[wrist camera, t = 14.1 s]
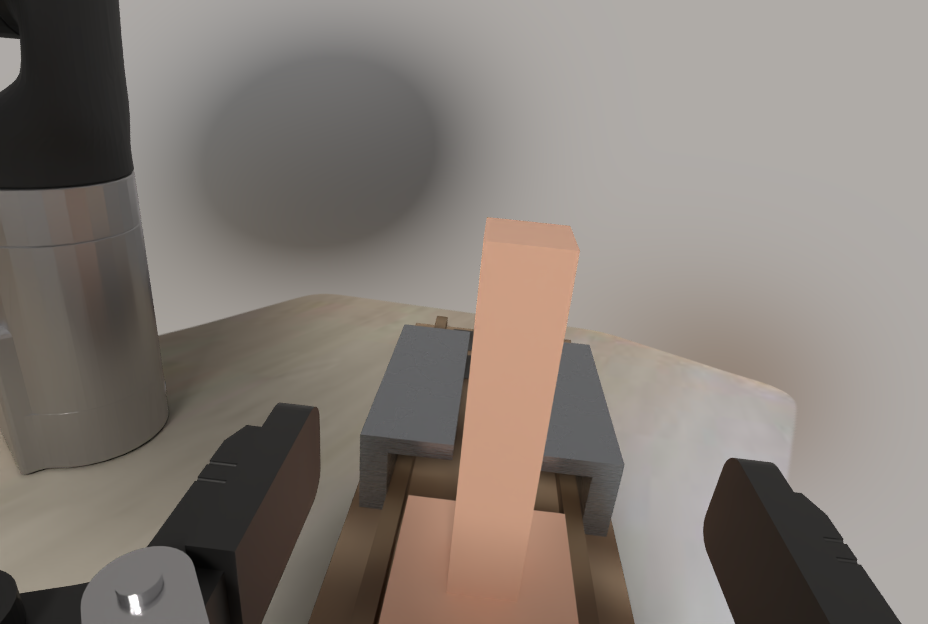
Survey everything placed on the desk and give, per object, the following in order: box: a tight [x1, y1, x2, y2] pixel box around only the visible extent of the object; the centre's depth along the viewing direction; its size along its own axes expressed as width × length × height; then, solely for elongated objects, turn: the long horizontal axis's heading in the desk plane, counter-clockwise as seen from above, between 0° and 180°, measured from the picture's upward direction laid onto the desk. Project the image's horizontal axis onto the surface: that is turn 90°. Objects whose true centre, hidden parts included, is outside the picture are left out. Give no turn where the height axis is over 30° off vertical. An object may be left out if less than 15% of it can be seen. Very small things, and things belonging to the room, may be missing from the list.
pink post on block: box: [379, 217, 580, 624], centre depth 23 cm, size 8×8×18 cm
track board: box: [308, 316, 635, 624], centre depth 38 cm, size 36×15×2 cm, turn 176°
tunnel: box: [359, 325, 624, 537], centre depth 37 cm, size 14×14×5 cm
